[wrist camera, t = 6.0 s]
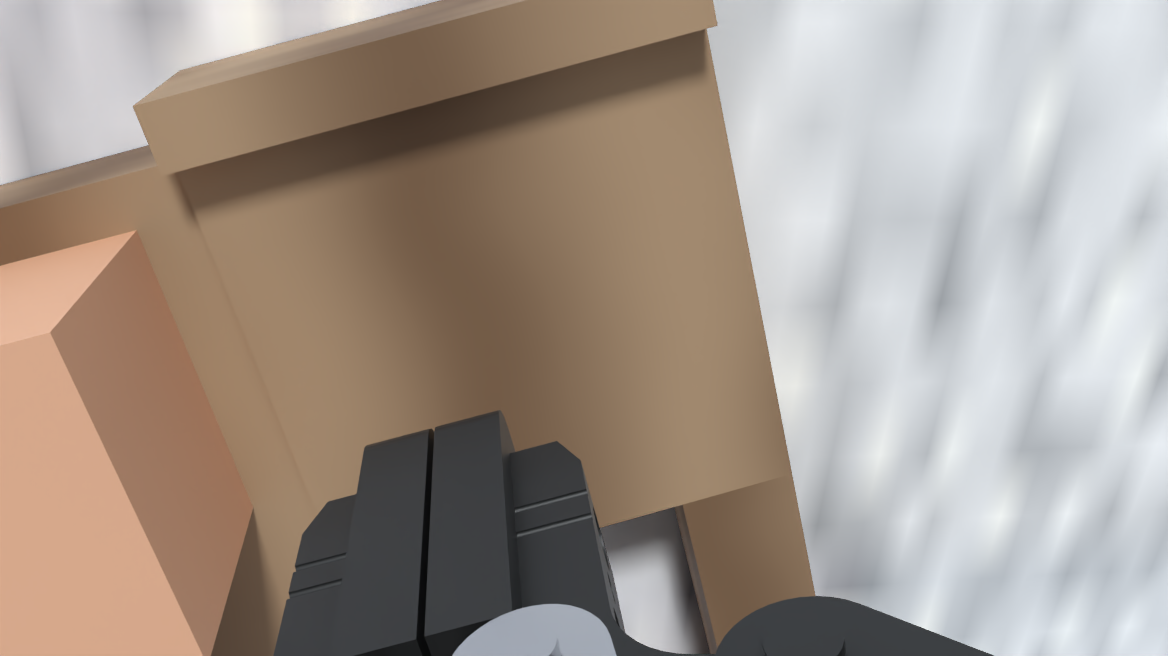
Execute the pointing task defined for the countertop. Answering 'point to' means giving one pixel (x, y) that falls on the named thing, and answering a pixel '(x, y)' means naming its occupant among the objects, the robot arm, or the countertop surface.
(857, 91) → the countertop surface
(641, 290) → the brown wooden compartment frame
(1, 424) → the block
